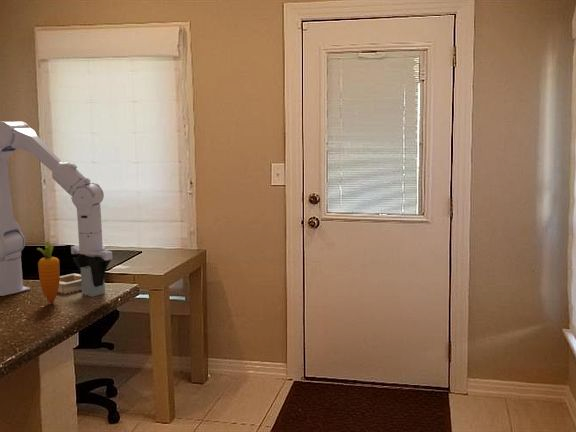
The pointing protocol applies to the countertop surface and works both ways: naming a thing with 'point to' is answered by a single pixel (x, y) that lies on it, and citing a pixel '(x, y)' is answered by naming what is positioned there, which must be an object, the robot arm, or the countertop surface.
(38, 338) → the countertop surface
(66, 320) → the countertop surface
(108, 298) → the countertop surface
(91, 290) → the slate square peg
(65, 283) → the birch well block
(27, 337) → the countertop surface
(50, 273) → the carrot
